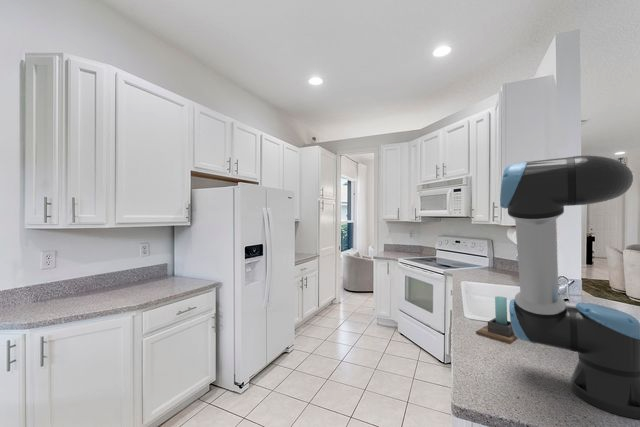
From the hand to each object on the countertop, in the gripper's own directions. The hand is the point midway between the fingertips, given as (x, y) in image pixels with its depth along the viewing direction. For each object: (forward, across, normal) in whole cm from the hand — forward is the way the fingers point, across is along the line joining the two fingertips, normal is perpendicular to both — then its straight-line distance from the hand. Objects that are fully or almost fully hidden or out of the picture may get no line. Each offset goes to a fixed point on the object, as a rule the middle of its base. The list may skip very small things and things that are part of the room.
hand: (543, 272), depth 106 cm
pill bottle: (+27, +8, -6) cm, 29 cm away
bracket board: (+27, -6, +14) cm, 31 cm away
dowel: (+26, -6, +13) cm, 29 cm away
